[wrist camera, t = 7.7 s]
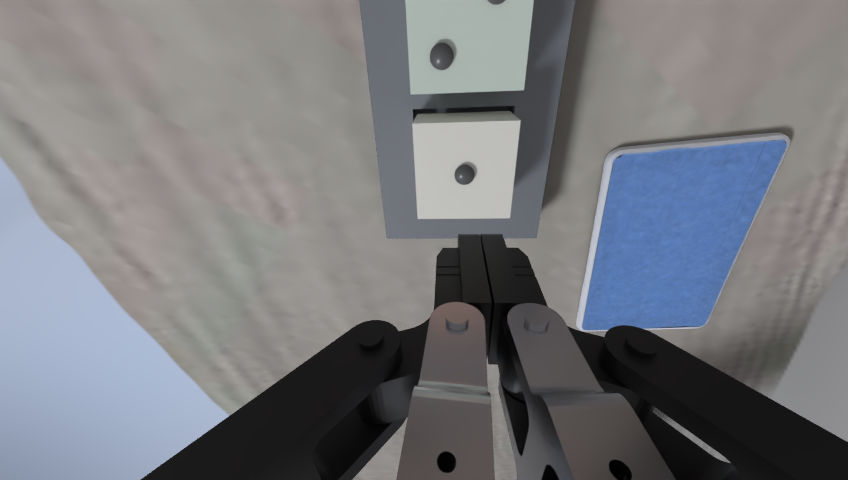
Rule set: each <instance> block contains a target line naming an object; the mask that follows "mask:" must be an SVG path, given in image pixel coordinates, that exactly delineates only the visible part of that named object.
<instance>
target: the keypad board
mask: <svg viewBox="0 0 848 480" xmlns="http://www.w3.org/2000/svg"><path fill="white" fill-rule="evenodd" d="M359 2H360V10H361V19H362V28H363V36H364V45H365V54H366V62H367V71H368V80H369V88H370V97H371V105H372V114H373V123H374V131H375V140H376V149H377V157H378V166H379V175H380V183H381V192H382V201H383V209H384V218H385V227H386V235H387V239H390V238H458V234H479V235H480V234H502V235H503V238H537V232H538V226H539V220H540V214H541V208H542V202H543V195H544V189H545V183H546V177H547V171H548V165H549V159H550V152H551V146H552V140H553V134H554V128H555V122H556V116H557V109H558V103H559V97H560V91H561V85H562V79H563V73H564V66H565V60H566V54H567V48H568V42H569V36H570V30H571V23H572V17H573V11H574V5H575V0H534V3H533V12H532V22H531V31H530V40H529V49H528V58H527V67H526V76H525V86H524V90H519V91H492V92H466V93H439V94H413V95H411V93H410V75H409V58H408V40H407V22H406V4H405V0H359ZM492 111H510V112H512V113H513V114H514V115H515V116H516V117H517V118H518V119H520V120H521V122H520V131H519V140H518V149H517V159H516V168H515V177H514V186H513V195H512V204H511V213H510V218H493V219H418V217H417V200H416V182H415V164H414V146H413V129H412V123H413V121H414V119H415V117H416V116H417V114H432V113H462V112H492Z"/></svg>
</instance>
